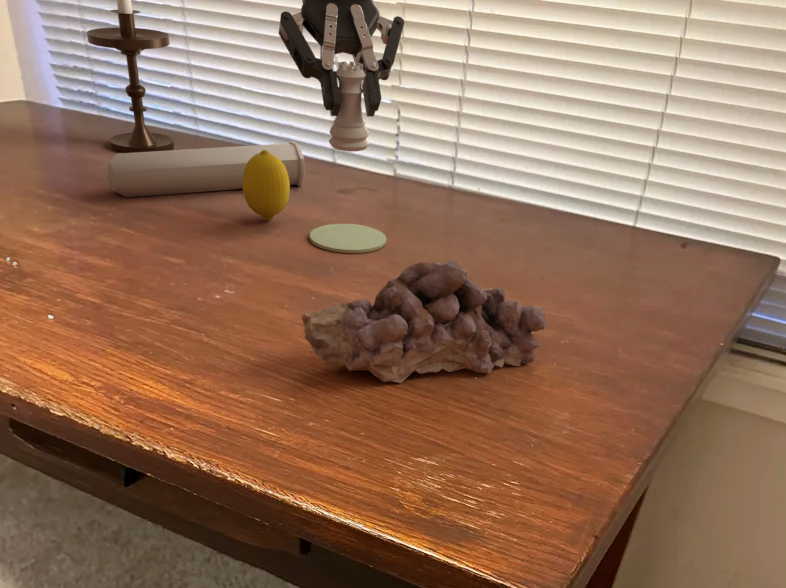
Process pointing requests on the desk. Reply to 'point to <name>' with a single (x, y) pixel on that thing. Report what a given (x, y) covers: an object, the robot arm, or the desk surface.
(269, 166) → the lemon
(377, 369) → the mineral specimen
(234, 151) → the tube
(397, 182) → the desk surface
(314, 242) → the coaster
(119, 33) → the candlestick
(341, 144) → the rook chess piece
